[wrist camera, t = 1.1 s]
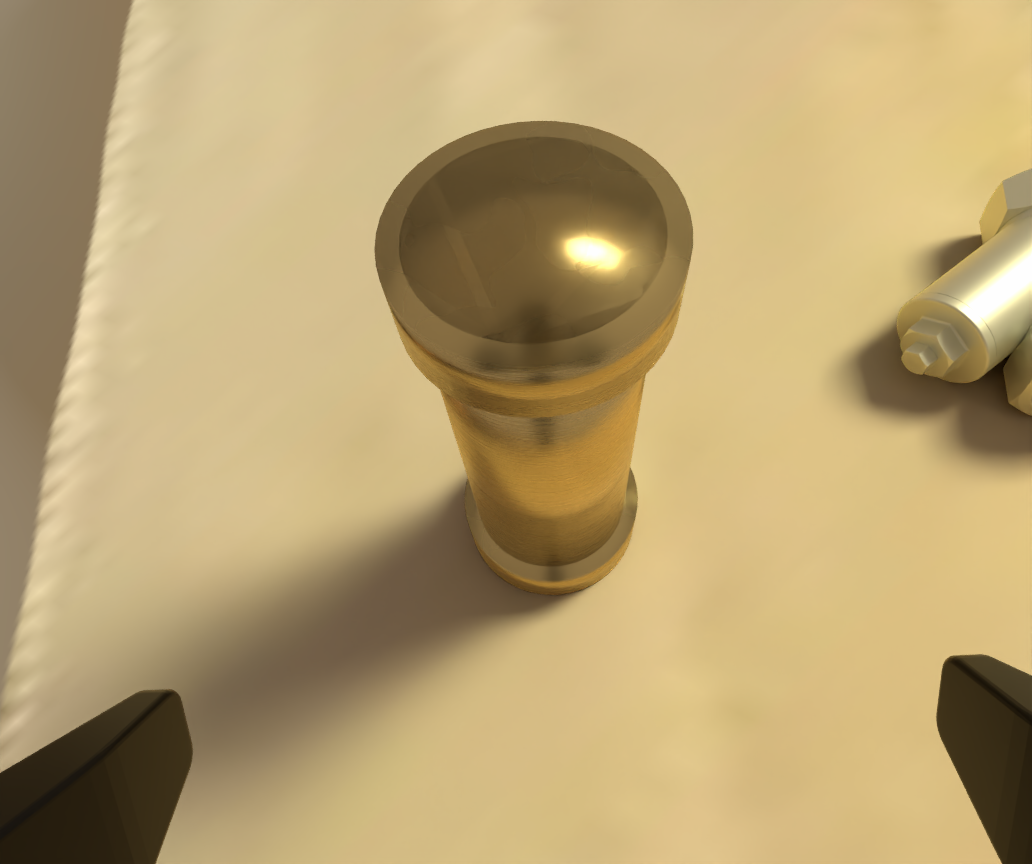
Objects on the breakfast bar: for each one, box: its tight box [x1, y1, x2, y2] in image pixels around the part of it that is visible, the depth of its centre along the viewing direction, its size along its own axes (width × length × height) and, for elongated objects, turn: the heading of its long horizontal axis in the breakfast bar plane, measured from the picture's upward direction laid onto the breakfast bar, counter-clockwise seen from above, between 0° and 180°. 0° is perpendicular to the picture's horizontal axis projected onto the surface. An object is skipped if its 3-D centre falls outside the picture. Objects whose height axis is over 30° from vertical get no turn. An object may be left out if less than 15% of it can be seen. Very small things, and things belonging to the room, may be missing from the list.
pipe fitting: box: [897, 169, 1032, 416], centre depth 25 cm, size 8×4×7 cm
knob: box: [375, 121, 693, 595], centre depth 18 cm, size 5×5×13 cm
